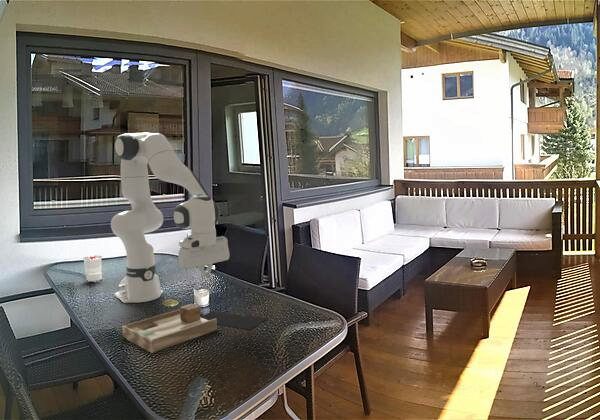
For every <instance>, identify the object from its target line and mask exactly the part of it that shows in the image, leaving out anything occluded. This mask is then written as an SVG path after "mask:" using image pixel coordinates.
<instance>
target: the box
mask: <svg viewBox="0 0 600 420" xmlns="http://www.w3.org/2000/svg"><path fill="white" fill-rule="evenodd" d="M121 329H122V330H121V331H122V338H123V337H124V338H123V339H125V338H126V340H127V341H129V342H130V343H132V344H134V345H136V346H138V347H140V348H142V349H144V350H146V351H147V352H150V354H153V353H156V352H159V351H162V350H164V349H167V348H170V347H173V346H175V345H179V344H182V343H184V342H187V341H189V340H192V339H195V338H198V337H200V336H201V337H202V336H204V335H206V334H207V335H208V334H209V333H212V332H215V331H218V325H217V319H216V318H215V319H212V320H206V319H204V318H201V317H200V320H198V321H195V322H192V323H189V324H188V323H186V322H183V321H181V317H180V308H178V309H176V310H172V311H168V312H165V313H162V314H158V315H156V316H155V315H154V316H152V317H148V318H145V319H141V320H138V321H135V322H132V323H127V324H125V325H122V326H121Z"/></svg>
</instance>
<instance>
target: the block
mask: <svg viewBox="0 0 600 420" xmlns="http://www.w3.org/2000/svg"><path fill="white" fill-rule="evenodd" d="M200 307H201V306H200V305H197V304H194V303H189V304H186V305H181V306H180V307H179V309H180V317H181V321H183V322H186V323H188V324H189V323H192V322H195V321H198V320H200V313H201V308H200Z"/></svg>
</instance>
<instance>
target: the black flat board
mask: <svg viewBox="0 0 600 420" xmlns="http://www.w3.org/2000/svg"><path fill="white" fill-rule="evenodd" d="M200 317H201V318H204V319H206V320H212V319H215V318H216V319H217V326H222V327H228V328H229V327H230V328H233V329H234V328H235V329H240V330H246V331H251V330H253V329H255V328H256V327H258V326H260V325H261V324H263V323H264V322H266V321H267V320H268V319H269V318H267V317H261V316H251V315H250V316H249V315H240V314H233V313H224V312H221V311H211V310H210V311H209V312H207V313H205V314H204V313H201V312H200Z"/></svg>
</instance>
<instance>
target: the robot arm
mask: <svg viewBox="0 0 600 420" xmlns="http://www.w3.org/2000/svg"><path fill="white" fill-rule="evenodd" d="M113 148H114V152H115V154H116V155H117V157H118V158H119V160H120V182H121V183H120V184H121V194H122V196H123V198H124V199H125V200H127V201H128V202H129V203H130V206H131V209H130V210H129V209H128V210H124V211H121V212H119V213H117V214H115V215H114V216H113V217H112V218H111V221H110V228H111V231H112V233H113V234H114V235H115V236H116V237H117V238H119V239H120V241H121V242H122V243H123V246H124V248H125V249H124V250H125V252H126V253H125V255H126V262H127V266H126V267H125V268H126V269H125V277H123V279H122V280H120V282H119V285H117V287H118V288H117V289H118V290H119V291H116V292H115V293H114V297H116V298H117V299H118V298H119V299H120V300H121V301H122V302H123V304H128V303H129V304H130V303H146V302H150V301H155V300H157V299H159V298H160V297H161V295H162V294H164V290H163V289H161V282H160V276H159V275H158V274H156V273H157V267H156V263H155V252H154V247H153V245H152V244H150V243H148V241H147V240H146V237H145V234H147V233H152V232H154V231H155V230H158V229H159V228H161V227H162V225H163V223H164V215H163V212H162V211H161V210H160V209H159V208H158V207H156V205H155V203H154V202H153V201H154V200H153V199H152V196H151V190H150V180H149V171H148V167H149V169H150V171H151V172H152V174H153V175H154V176H155V177H156V179H158V180H160V181H162V182H166V183H172V184H174V185H175V184H176V185H178V186H181V187H183V188H184V189H186V191H188V193H189V194H190V198H189V199H188V200H187V201H184V202H182V203H180V204H177V205H176V206H175V207H174V208H173V211H172V220H173V223H174V224H175V226H176V227H177V228H179V229H180V230H181V229H182V230H187V229H191V230H190V231H191V232H190V235H188V236H187V237H185V238H183V239H181V240H180V241H179V243H178V246H179V247H180V248H179V250H178V253H177V254H178V256H177V257H178V258H177V259H178V267H179V268H180V269H181V270H185V271H187V270H190V269H194V268H197V269H198V270H199V272H200V275H201V278H207V277H210V276H211V274H212V273H211V271H212V268H213V266H214V265H213V264H216V263H219V262H220V263H221V262H224V261H228V260H229V259H230V258H231V257H230V250H229V248H230V247H229V244H228V242H229V241H228V238H227V237H225V236H224V235H221V236H217V230H216V229H217V228H216V226H215V225H216V224H217V223H218V221H219V219H220V216H221V210H220V208H219V205H218V204H217V203H216V201H215V200H213V197H212V196H210V195H209V193H208V191H207V190H206V189H205V187H204V186H203V185H202V183H201V181H200V179H198V177H197V176H196V174H195V173H194V171H192V170H191V169H190V167H188V166H186V165H185V164H184V163H183V162H182V161H181V160H180V159H179V157H178V156H177V153H176V152H175V150H174V148H173V146H172V145H171V143H170V141H169V139H168V137H167V136H166V135H164V134H162V133H158V132H155V133H153V132H135V133H134V132H133V133H123V134H120V135H117V137H116V138H115V141H114V147H113ZM205 266H206V270H205ZM119 299H118V300H119ZM120 300H119V301H120ZM121 301H120V302H121ZM122 302H121V303H122Z"/></svg>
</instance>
